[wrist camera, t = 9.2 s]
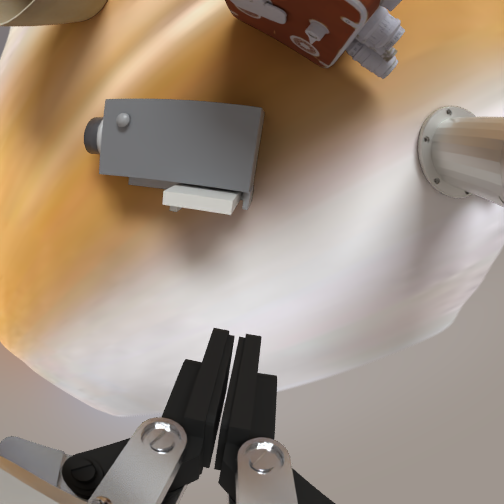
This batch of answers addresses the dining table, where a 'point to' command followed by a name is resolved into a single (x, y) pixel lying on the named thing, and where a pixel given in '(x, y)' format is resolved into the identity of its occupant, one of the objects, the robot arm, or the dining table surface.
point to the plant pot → (47, 11)
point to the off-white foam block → (201, 198)
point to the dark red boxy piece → (329, 28)
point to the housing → (178, 143)
